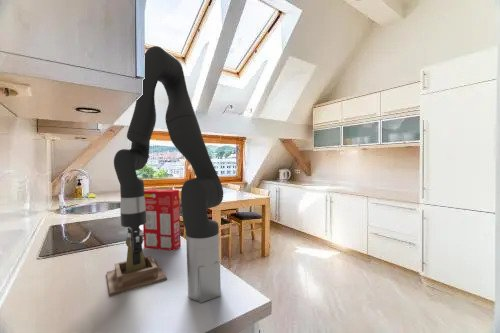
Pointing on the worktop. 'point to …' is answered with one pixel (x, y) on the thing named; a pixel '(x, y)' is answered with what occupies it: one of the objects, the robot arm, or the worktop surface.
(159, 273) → the shaker holder
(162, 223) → the food packaging
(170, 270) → the worktop surface
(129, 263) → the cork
